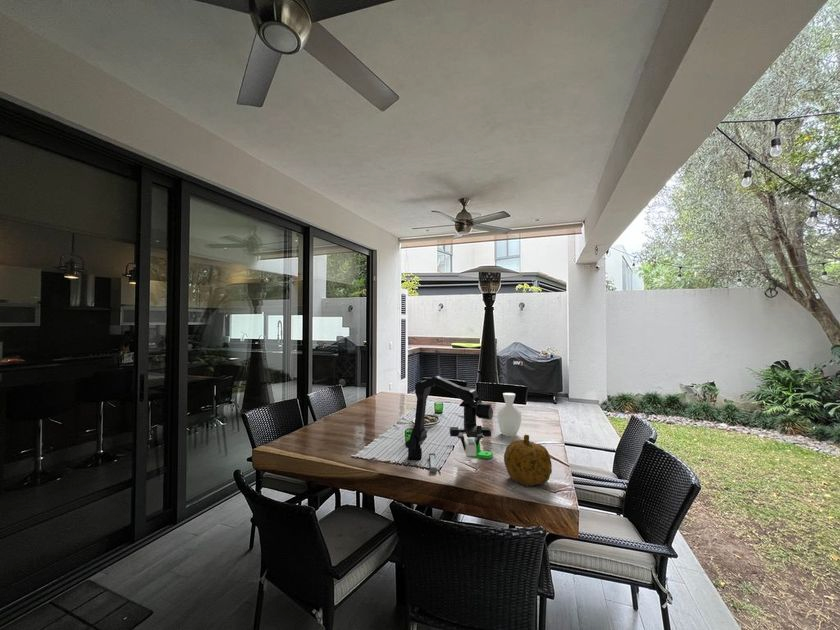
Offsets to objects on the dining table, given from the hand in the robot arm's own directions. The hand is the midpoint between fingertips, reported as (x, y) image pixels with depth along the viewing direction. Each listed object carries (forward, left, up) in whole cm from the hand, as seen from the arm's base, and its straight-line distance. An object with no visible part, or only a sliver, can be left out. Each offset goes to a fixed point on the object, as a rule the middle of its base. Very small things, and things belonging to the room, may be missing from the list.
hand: (469, 450), depth 164 cm
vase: (+32, +54, -10) cm, 63 cm away
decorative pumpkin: (+24, -10, -10) cm, 28 cm away
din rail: (-17, +6, -10) cm, 20 cm away
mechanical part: (+8, +19, -10) cm, 23 cm away
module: (0, 0, -1) cm, 1 cm away
